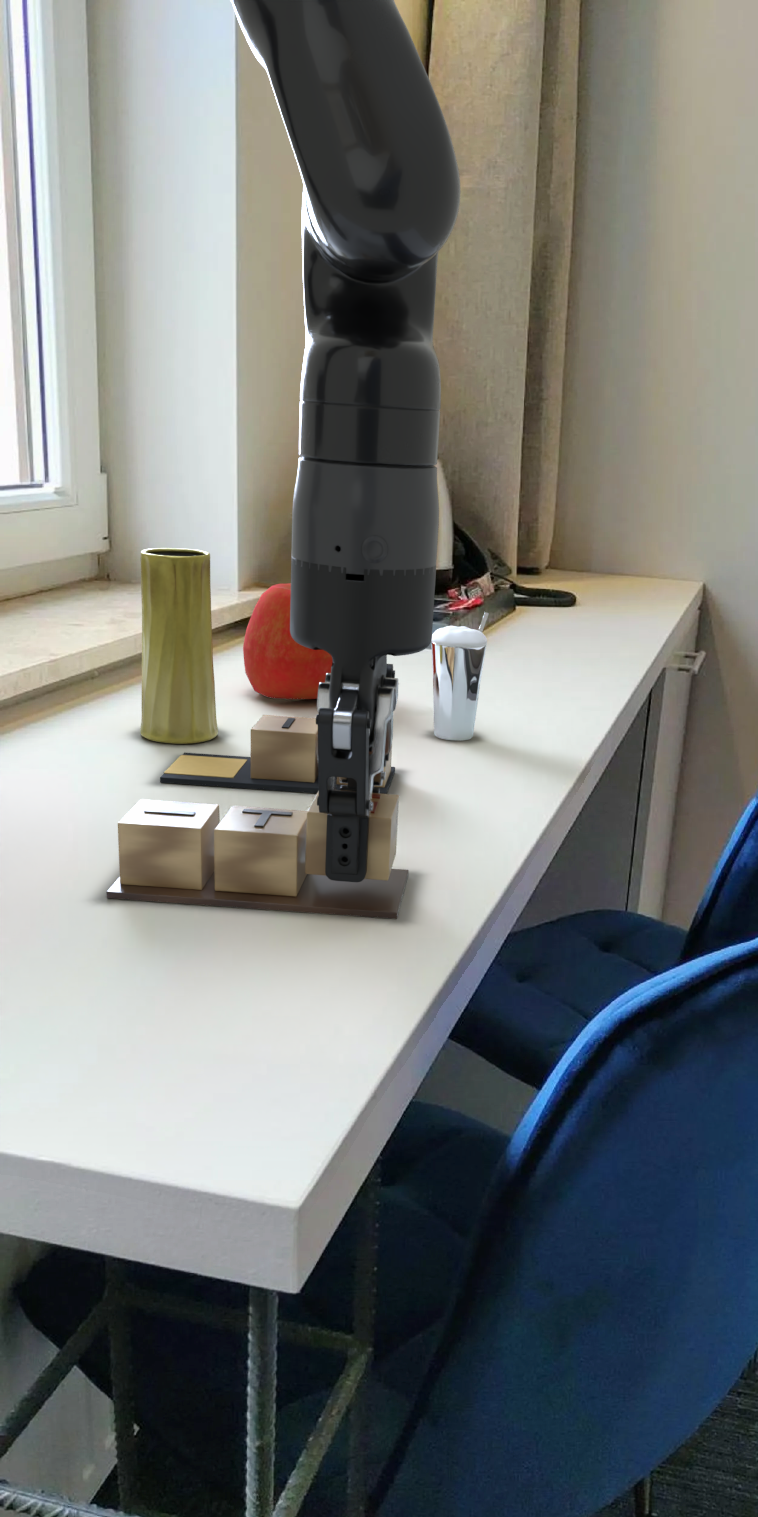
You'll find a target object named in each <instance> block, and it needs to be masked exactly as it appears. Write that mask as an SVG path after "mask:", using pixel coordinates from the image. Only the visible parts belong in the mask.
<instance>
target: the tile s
mask: <svg viewBox="0 0 758 1517" xmlns="http://www.w3.org/2000/svg"><path fill="white" fill-rule="evenodd" d="M341 791H343V790H341ZM353 792H356V791H353ZM315 794H316V795H315V796H314V798H313V800H312V802H311V804H310V805H309V808H308V809H307V810H306V811H307V825H306V861H305V873H306V874H312V875H325V876H326V874H325V863H326V832H327V814H324V813H320V812H319V806H317V797H318V796H319V791H318V793H315ZM372 802H373V803H374V805H373V811H371V813H370V817H369V834H368V857H367V873H366V875H365V878H364V879H374V880H388V879H389V876H390V872H391V869H393V865H394V862H395V858H396V856H397V845H398V844H397V842H398V825H399V823H398V822H399V806H400V805H399V804H400V795H399V794H393V793H387V794H381V793H372Z"/></svg>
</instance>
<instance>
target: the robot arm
mask: <svg viewBox="0 0 758 1517" xmlns="http://www.w3.org/2000/svg"><path fill="white" fill-rule="evenodd" d="M230 3H231V4H232V8H233V10H234V14H235V16H236V18H237V22H238V24H239V27H240V29H241V31H242V33H243V35H244V38H245V40H246V42H247V44H248V46H249V48H250V50H251V52H252V54H253V55H254V57H255V59H256V60H257V61H258V63H259V64H260V65H261V66H262V67H263V68H264V69H265V72H266V73H267V76H268V79H269V81H270V85H271V87H272V91H273V93H274V96H275V97H274V98H275V100H276V103H277V106H278V109H279V112H280V115H281V118H282V122H283V124H284V127H285V130H286V133H287V136H288V139H289V142H290V145H291V149H292V151H293V154H294V158H295V160H296V163H297V166H298V170H299V173H300V177H301V180H302V184H303V186H302V198H301V249H302V250H301V251H302V252H301V253H302V254H301V255H302V283H303V284H302V285H303V286H302V287H303V306H304V309H303V310H304V326H305V346H304V347H305V348H304V353H303V362H302V370H301V379H300V391H299V400H300V401H299V420H298V427H299V428H298V456H299V457H298V460H297V461H298V462H297V473H296V478H295V485H294V492H293V498H292V499H293V500H292V513H291V514H292V515H291V516H292V517H291V553H290V554H291V557H290V583H291V601H290V634H291V636H292V638H293V639H294V641H296V642H297V643H298V644H300V645H302V646H304V647H307V648H310V649H313V650H324V651H326V652H328V653H329V654H330V655H331V656H332V661H333V662H332V667H331V673H326V677H325V683H323V682H320V683H319V686H318V696H317V699H316V710H317V713H318V714H316V715H315V718H316V725H318V785H319V796H318V797H317V806H319V812H320V813H324V814H327V832H326V863H325V874H326V876H327V877H328V878H329V879H330V880H334V881H345V882H361V881H362V880H363V879H364V878H365V875H366V873H367V857H368V834H369V817H370V813H371V811H373V805H374V803H373V802H372V793H380V788H378V787H374V785H376V786H382V783H383V780H385V771H384V767H386V762H387V761H389V752H390V749H391V744H392V745H393V739H394V712H395V710H396V708H397V703H398V699H399V678H398V677H396V670H395V669H394V663H388V656H393V657H401V656H402V657H403V656H409V655H413V654H418V653H420V652H423V651H424V650H426V649H428V647H429V646H430V645H431V640H432V634H433V628H434V626H433V625H434V611H435V610H434V608H435V592H436V591H435V590H436V579H437V578H436V577H437V576H436V575H437V558H438V544H439V543H438V542H439V527H440V502H439V501H440V500H439V490H438V489H439V488H438V487H439V486H438V467H437V465H438V459H439V458H438V456H439V455H438V454H439V441H440V440H439V438H440V425H441V424H440V423H441V422H440V421H441V411H440V410H441V408H442V406H441V405H442V403H441V402H442V380H441V378H442V377H441V367H440V366H441V365H440V361H439V358H438V355H437V353H436V350H435V346H434V324H435V312H436V311H435V309H436V292H437V273H438V262H439V261H438V260H439V252H440V251H441V250H442V248H443V247H444V246H445V245H446V243H447V242H448V240H449V238H450V237H451V234H452V232H453V230H454V228H455V225H456V223H457V219H458V215H459V211H460V206H461V205H460V204H461V192H462V191H461V178H460V169H459V164H458V161H457V160H458V159H457V156H456V151H455V147H454V144H453V141H452V137H451V134H450V131H449V128H448V124H447V122H446V119H445V115H444V113H443V110H442V108H441V105H440V102H439V101H438V98H437V95H436V93H435V90H434V87H433V85H432V83H431V80H430V77H429V76H428V73H427V71H426V68H425V66H424V64H423V61H422V59H421V57H420V55H419V52H418V49H417V48H416V46H415V42H414V40H413V39H412V36H411V34H410V32H409V29H408V28H407V25H406V23H405V21H404V19H403V17H402V15H401V13H400V11H399V9H398V7H397V5H396V2H395V0H230ZM337 777H339V781H340V783H348V785H341V787H340V790H336V784H337ZM341 790H343V791H341ZM353 791H356V792H353Z"/></svg>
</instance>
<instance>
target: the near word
mask: <svg viewBox="0 0 758 1517" xmlns="http://www.w3.org/2000/svg"><path fill="white" fill-rule="evenodd" d="M307 811H308V810H301V809H300V810H299V809H286V808H271V807H257V806H246V805H245V806H243V805H231V806H230V808H228V810H227V811H226V813H225V815H224V816H223V817H222V818H221V819H220V804H217V803H202V802H191V801H189V802H188V801H174V800H161V799H145V798H141V799H139V800H138V801H137V802H136V803H135V804H134V805H133V807H131V809H129V811H127V813H126V814H125V815H124V816H123V817H122V818H121V819H119V821H118V822H117V841H118V844H117V845H118V869H119V871H118V872H119V876H118V877H117V879H115V881H114V882H113V884H111V886H110V887H109V888H108V889H107V890H106V899H113V900H114V899H115V900H116V899H117V900H127V901H143V902H158V903H171V904H182V905H183V904H185V905H197V906H212V907H226V908H238V909H239V908H241V909H253V910H255V909H256V910H268V911H278V912H279V911H280V912H281V911H282V912H296V913H306V914H307V913H310V914H321V915H322V914H324V915H337V916H349V917H351V916H352V917H365V918H378V919H389V920H390V919H392V920H397V919H398V916H399V913H400V909H401V905H402V901H403V897H404V893H405V890H406V886H407V882H408V878H409V872H410V871H409V869H404V868H403V869H402V868H392V869H391V872H390V876H389V879H388V880H374V879H363V880H362V881H361V882H345V881H334V880H330V879H329V878H328V877H327V876H325V875H312V874H306V873H305V861H306V825H307Z"/></svg>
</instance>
